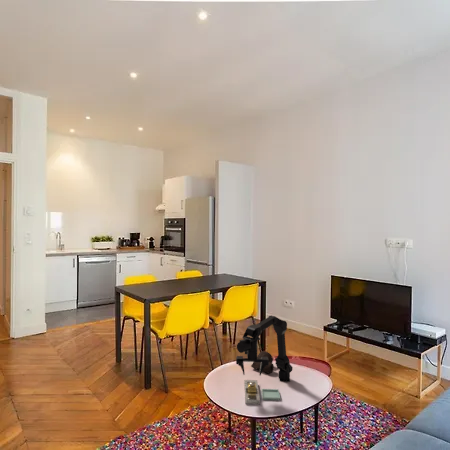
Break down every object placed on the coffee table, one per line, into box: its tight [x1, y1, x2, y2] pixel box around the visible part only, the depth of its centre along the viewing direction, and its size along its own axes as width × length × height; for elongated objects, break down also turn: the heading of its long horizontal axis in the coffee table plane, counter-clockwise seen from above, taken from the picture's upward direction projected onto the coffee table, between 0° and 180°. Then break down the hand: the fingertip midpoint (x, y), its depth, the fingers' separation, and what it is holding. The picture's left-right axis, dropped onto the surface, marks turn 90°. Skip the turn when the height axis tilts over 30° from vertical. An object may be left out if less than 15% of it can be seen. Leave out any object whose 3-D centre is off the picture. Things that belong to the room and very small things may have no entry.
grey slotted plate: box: [243, 379, 261, 405], centre depth 210 cm, size 8×24×3 cm, turn 178°
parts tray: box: [261, 388, 281, 401], centre depth 208 cm, size 10×10×2 cm
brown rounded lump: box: [250, 350, 275, 374], centre depth 245 cm, size 10×15×15 cm
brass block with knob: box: [247, 382, 257, 394], centre depth 208 cm, size 4×4×7 cm
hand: (251, 375), depth 208 cm, fingers open, 9 cm apart
